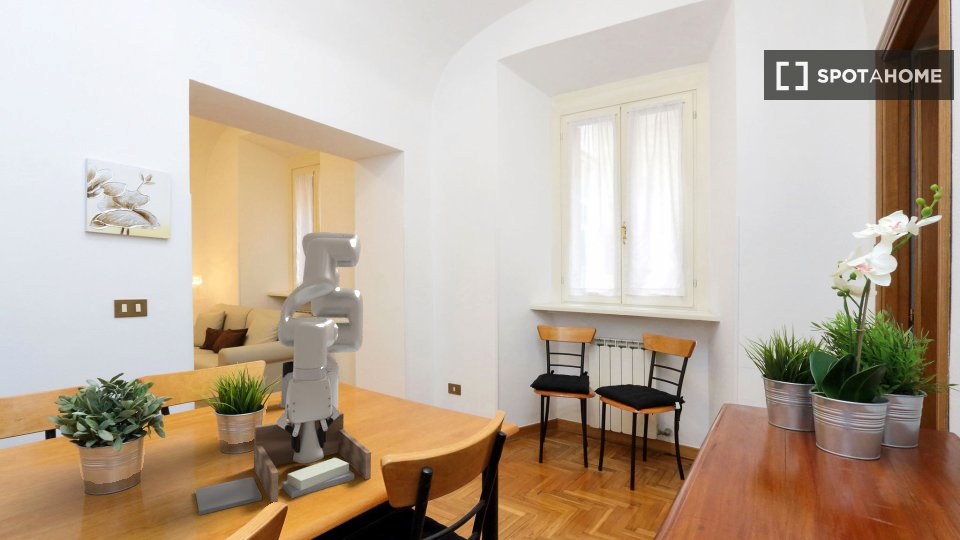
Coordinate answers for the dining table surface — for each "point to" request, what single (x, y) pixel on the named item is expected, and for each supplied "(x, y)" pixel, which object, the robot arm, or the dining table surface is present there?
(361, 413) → the dining table surface
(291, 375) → the glass holder
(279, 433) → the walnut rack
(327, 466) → the sage offcut
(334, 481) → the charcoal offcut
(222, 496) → the slate coaster
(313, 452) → the flask
